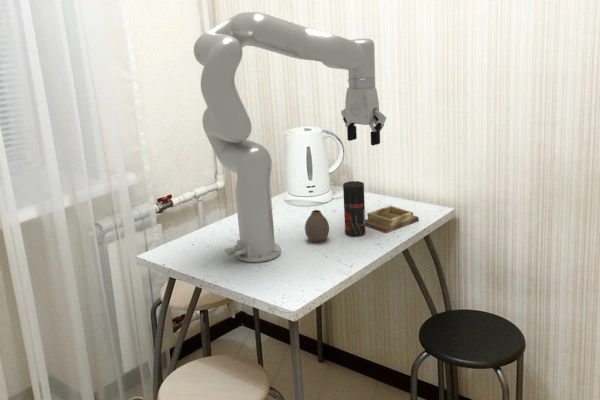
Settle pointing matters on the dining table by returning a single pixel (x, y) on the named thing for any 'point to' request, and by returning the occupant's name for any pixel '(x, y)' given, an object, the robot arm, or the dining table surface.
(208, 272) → the dining table surface
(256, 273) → the dining table surface
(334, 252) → the dining table surface
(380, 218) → the holder board
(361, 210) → the deodorant
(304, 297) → the dining table surface
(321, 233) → the vase
